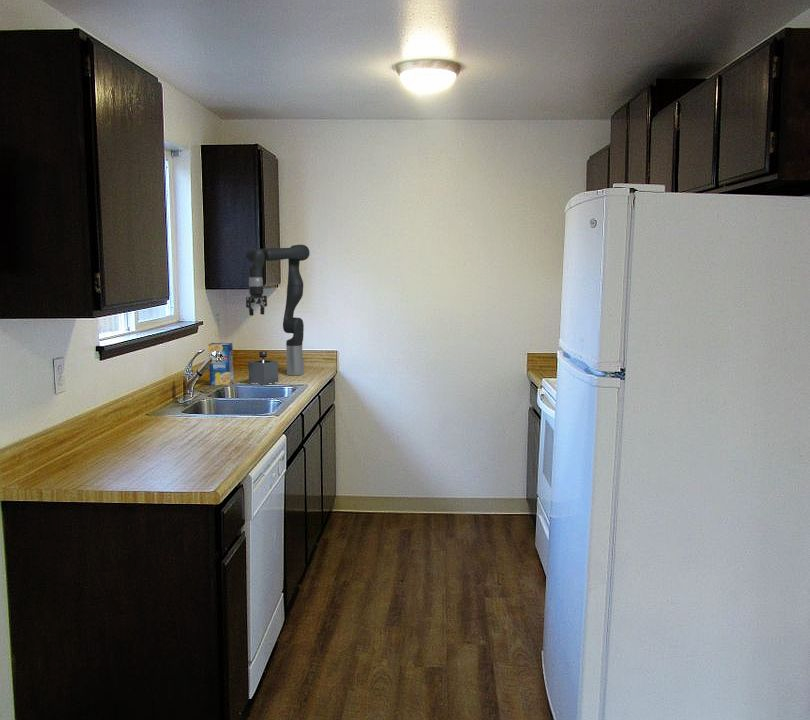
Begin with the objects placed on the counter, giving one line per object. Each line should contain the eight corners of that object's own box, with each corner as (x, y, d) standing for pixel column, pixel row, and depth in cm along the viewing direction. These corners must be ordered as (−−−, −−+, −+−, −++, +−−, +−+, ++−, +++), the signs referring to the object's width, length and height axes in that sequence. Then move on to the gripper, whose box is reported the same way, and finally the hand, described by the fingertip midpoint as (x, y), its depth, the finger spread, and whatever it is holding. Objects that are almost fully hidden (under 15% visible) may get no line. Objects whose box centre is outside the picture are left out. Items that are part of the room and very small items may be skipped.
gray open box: (263, 381, 406) (262, 359, 404) (278, 382, 400) (277, 361, 399) (249, 384, 397) (248, 361, 395) (264, 385, 391) (263, 363, 389)
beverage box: (230, 385, 392) (228, 344, 389) (209, 385, 392) (208, 344, 389) (233, 383, 399) (232, 342, 396) (213, 383, 399) (212, 342, 396)
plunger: (263, 378, 404) (262, 350, 402) (274, 380, 400) (273, 351, 397) (252, 381, 397) (251, 351, 395) (264, 382, 393) (263, 352, 390)
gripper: (259, 284, 413) (260, 313, 415) (241, 285, 401) (242, 315, 403) (270, 285, 409) (270, 314, 411) (252, 286, 397) (253, 316, 399)
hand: (257, 315), depth 407 cm, fingers open, 8 cm apart
